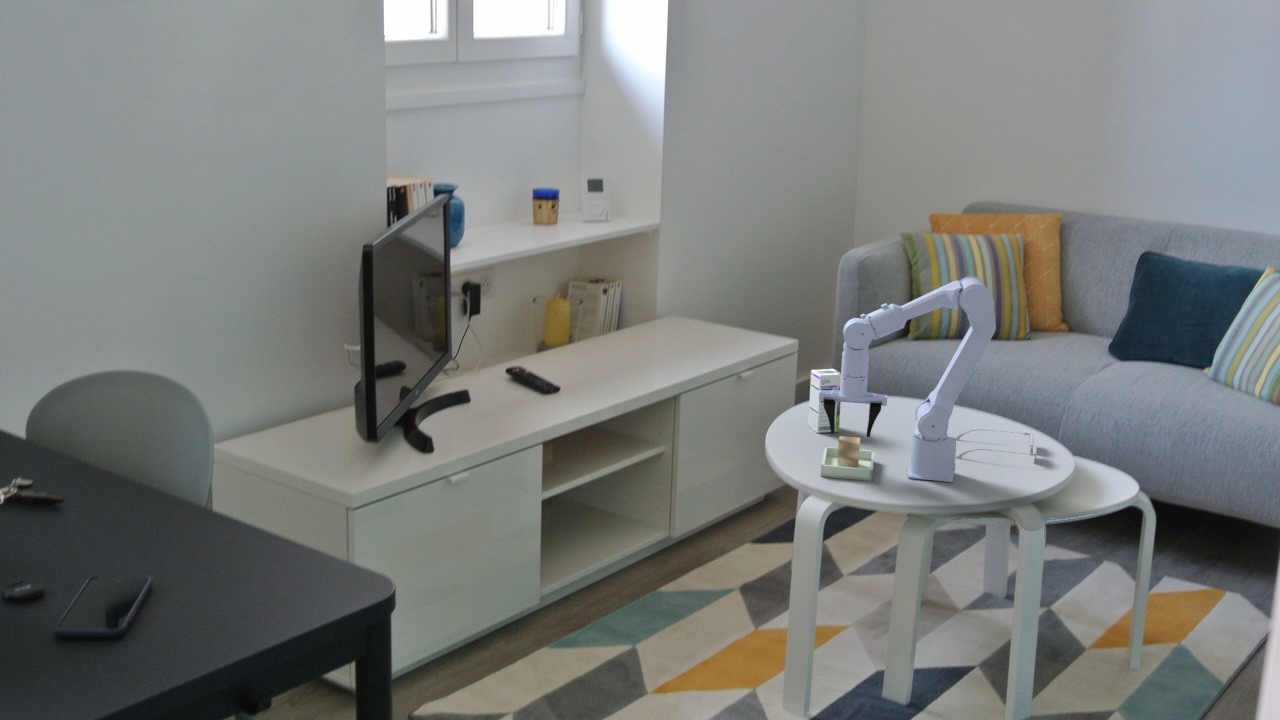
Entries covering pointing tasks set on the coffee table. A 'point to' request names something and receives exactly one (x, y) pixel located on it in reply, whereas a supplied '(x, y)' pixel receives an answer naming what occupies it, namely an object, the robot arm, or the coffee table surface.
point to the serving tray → (860, 473)
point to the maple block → (848, 451)
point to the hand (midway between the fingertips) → (850, 434)
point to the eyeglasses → (1031, 444)
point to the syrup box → (817, 413)
